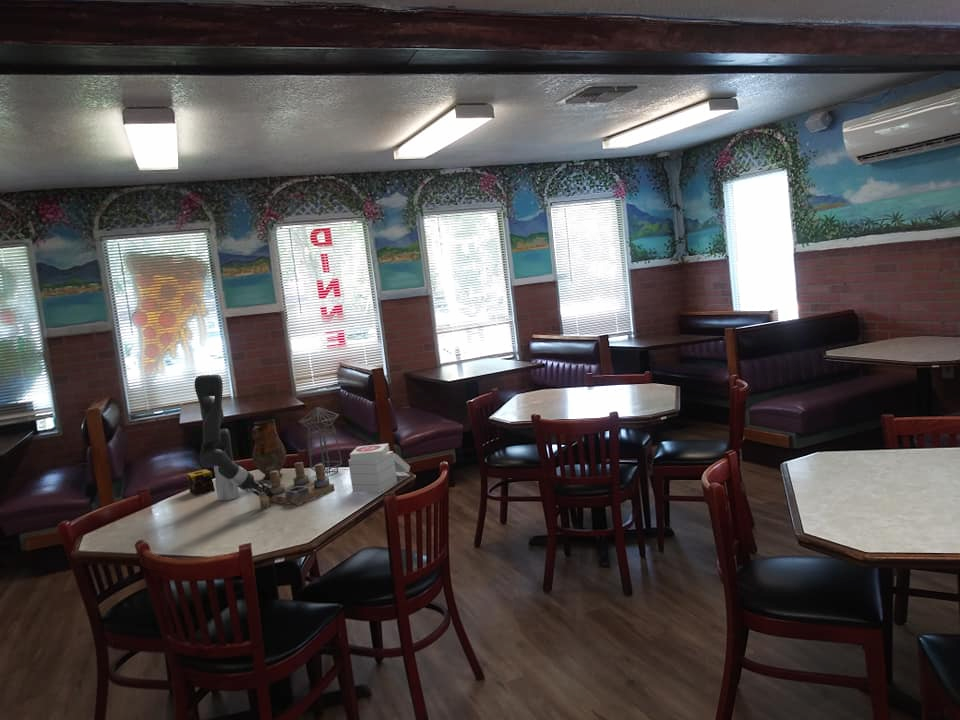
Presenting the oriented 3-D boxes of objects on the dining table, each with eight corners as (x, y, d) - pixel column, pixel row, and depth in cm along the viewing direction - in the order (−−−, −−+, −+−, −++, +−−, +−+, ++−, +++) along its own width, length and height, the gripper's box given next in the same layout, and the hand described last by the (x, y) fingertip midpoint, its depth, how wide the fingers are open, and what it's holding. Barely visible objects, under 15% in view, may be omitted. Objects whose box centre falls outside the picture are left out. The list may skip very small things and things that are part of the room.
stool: (266, 501, 336) (262, 473, 334) (303, 486, 353) (299, 460, 352) (297, 505, 323) (293, 476, 321) (334, 490, 340) (330, 463, 339)
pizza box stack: (414, 474, 353) (409, 437, 351) (381, 493, 326) (375, 454, 324) (381, 473, 361) (376, 438, 359) (345, 492, 334) (340, 454, 332)
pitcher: (295, 472, 386) (286, 416, 382) (276, 484, 365) (267, 425, 361) (266, 474, 389) (257, 418, 386) (246, 486, 368) (236, 427, 365)
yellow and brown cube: (215, 491, 366) (212, 471, 365) (194, 496, 360) (191, 476, 359) (210, 487, 374) (206, 468, 373) (189, 492, 369) (186, 473, 368)
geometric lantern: (349, 470, 375) (339, 404, 370) (328, 480, 362) (318, 411, 357) (326, 469, 383) (316, 403, 378) (305, 478, 370) (294, 411, 365)
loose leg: (259, 508, 326) (255, 486, 324) (266, 505, 329) (263, 483, 328) (264, 509, 323) (261, 487, 322) (272, 506, 326) (268, 484, 325)
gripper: (254, 470, 313) (280, 488, 324) (234, 468, 322) (260, 486, 332) (246, 486, 310) (272, 503, 320) (226, 483, 318) (252, 501, 329)
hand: (266, 494), depth 326 cm, fingers open, 8 cm apart
